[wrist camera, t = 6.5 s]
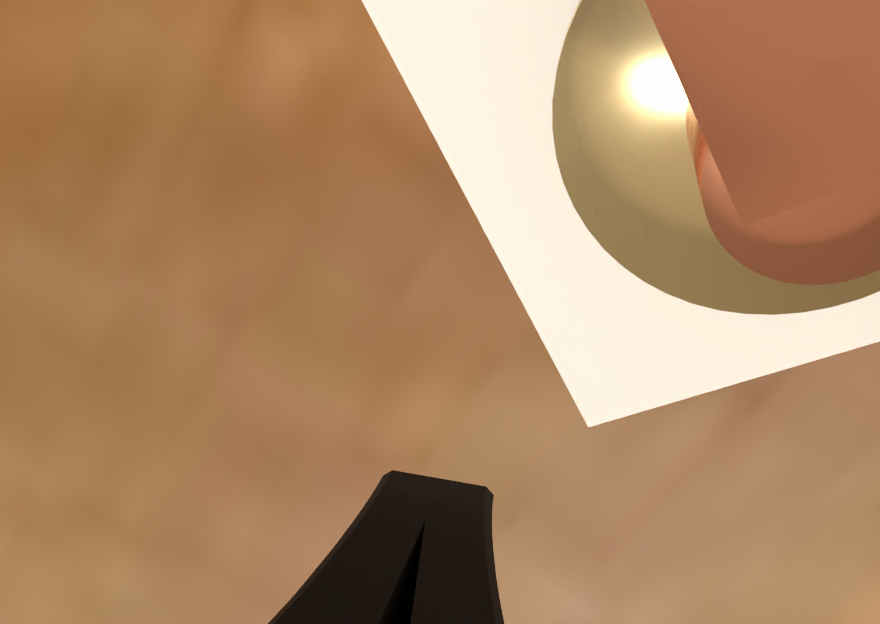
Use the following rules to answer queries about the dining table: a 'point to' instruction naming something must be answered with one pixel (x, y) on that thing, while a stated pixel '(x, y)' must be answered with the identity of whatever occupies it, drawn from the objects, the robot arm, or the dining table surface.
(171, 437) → the dining table surface
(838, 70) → the lever handle
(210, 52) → the dining table surface
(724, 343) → the board
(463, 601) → the robot arm
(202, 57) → the dining table surface
